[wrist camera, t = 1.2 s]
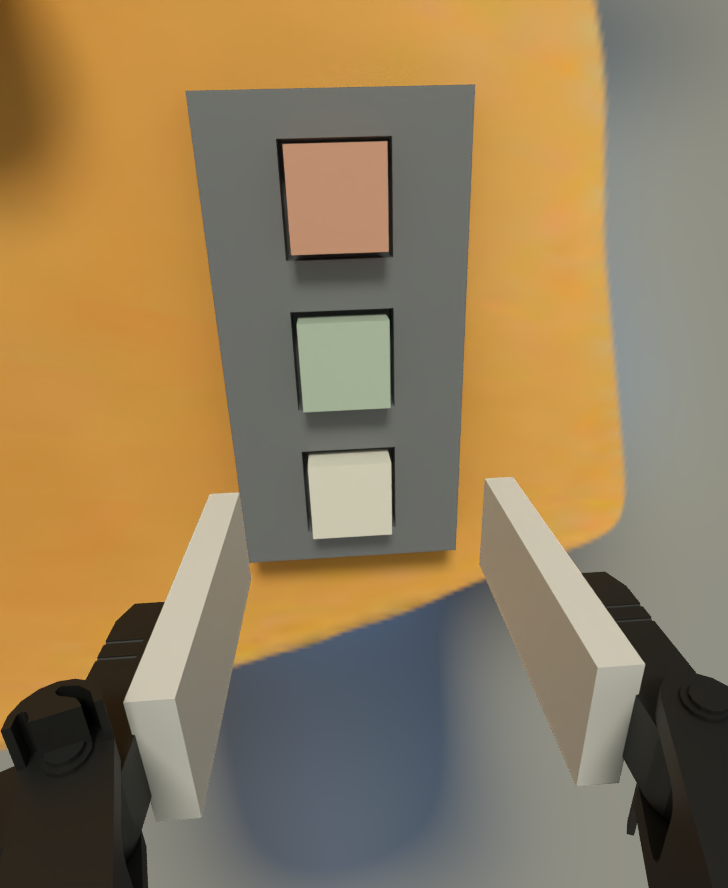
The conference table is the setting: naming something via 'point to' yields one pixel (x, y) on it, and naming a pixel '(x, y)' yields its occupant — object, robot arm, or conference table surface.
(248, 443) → the button board
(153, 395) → the conference table surface
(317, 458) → the cream button
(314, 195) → the terracotta button
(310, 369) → the sage button
